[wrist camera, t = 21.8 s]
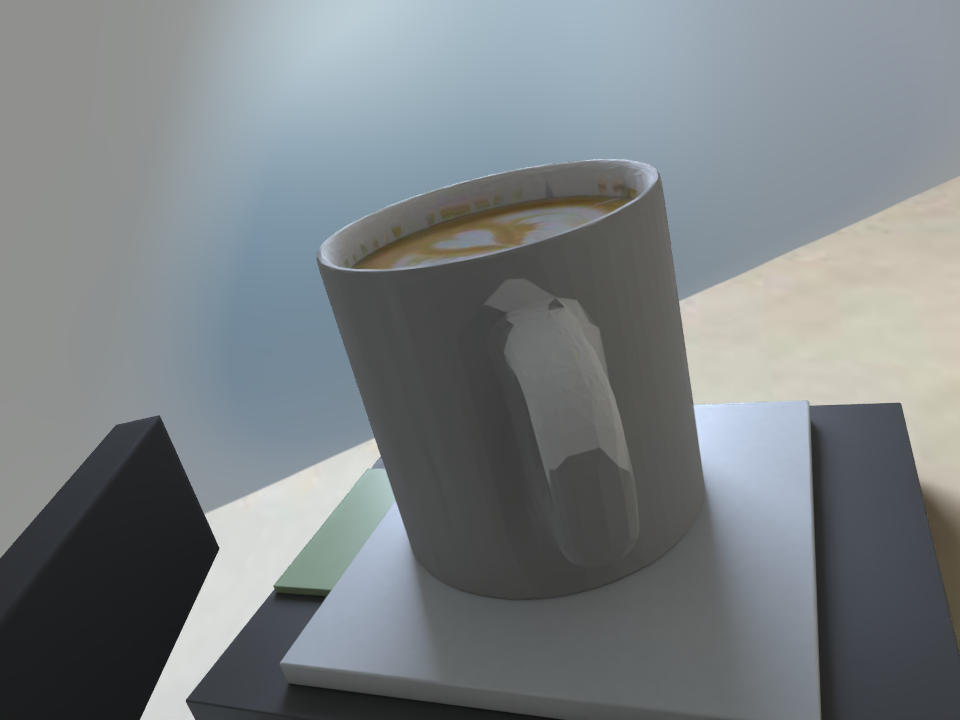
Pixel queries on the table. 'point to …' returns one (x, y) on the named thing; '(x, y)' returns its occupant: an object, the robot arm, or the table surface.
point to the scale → (636, 603)
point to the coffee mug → (525, 374)
